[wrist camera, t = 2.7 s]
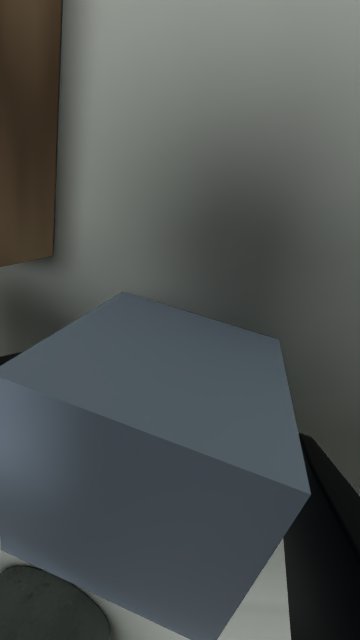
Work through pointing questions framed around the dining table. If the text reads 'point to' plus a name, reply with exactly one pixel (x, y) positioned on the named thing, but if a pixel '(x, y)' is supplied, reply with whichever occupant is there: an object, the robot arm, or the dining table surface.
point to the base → (28, 127)
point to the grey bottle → (46, 608)
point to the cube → (150, 460)
